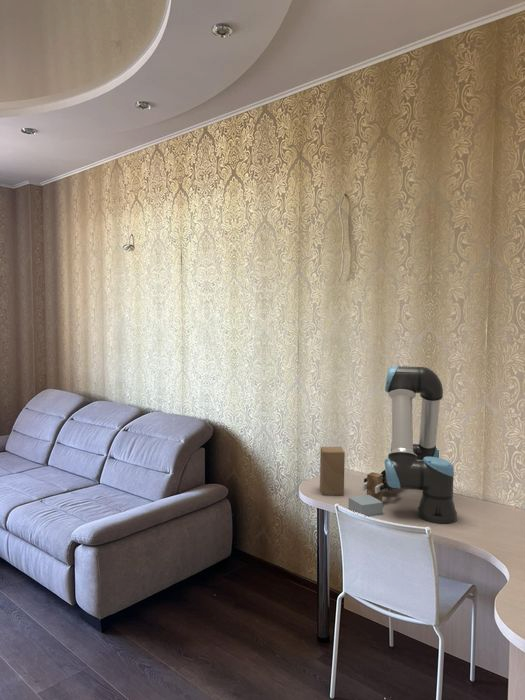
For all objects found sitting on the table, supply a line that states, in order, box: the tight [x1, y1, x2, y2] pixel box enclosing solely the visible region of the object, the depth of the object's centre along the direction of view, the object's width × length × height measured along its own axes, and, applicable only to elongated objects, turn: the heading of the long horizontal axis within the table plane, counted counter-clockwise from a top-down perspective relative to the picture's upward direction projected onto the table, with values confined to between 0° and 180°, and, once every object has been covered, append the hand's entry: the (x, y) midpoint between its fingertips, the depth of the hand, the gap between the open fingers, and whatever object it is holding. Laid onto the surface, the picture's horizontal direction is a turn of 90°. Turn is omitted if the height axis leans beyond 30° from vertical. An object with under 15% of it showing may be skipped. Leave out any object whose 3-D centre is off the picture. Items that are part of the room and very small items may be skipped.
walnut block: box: [366, 471, 383, 502], centre depth 221 cm, size 5×5×12 cm
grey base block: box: [348, 494, 384, 517], centre depth 210 cm, size 10×10×5 cm
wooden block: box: [319, 446, 346, 496], centre depth 233 cm, size 10×10×20 cm
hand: (369, 488), depth 217 cm, fingers closed on walnut block, 5 cm apart
